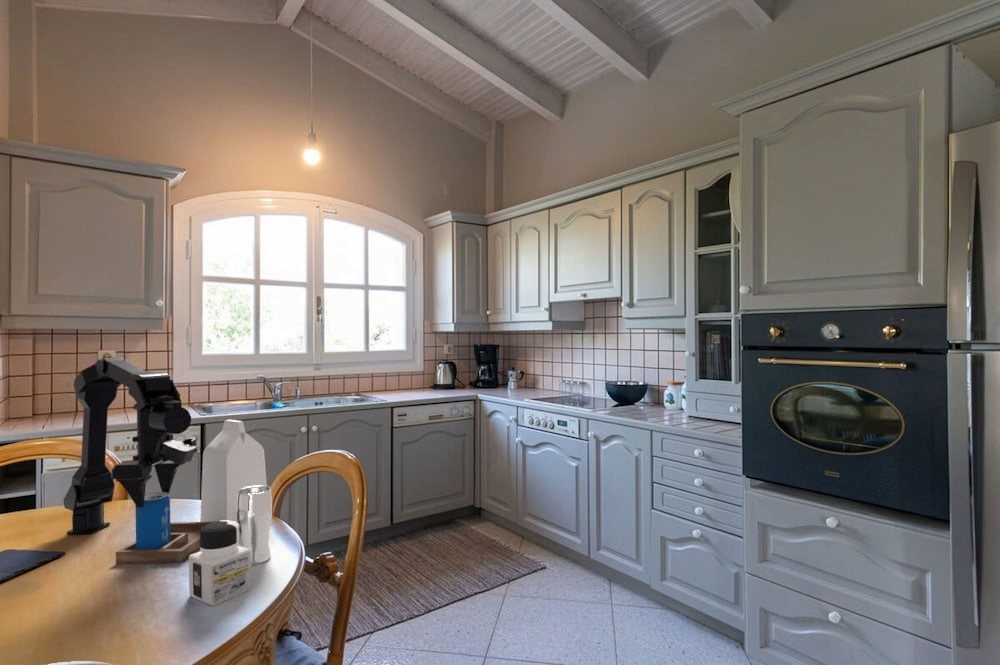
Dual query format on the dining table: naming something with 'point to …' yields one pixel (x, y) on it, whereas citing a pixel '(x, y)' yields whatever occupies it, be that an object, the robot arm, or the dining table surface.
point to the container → (219, 564)
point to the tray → (166, 546)
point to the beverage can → (153, 522)
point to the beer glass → (255, 521)
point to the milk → (229, 471)
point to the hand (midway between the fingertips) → (153, 500)
